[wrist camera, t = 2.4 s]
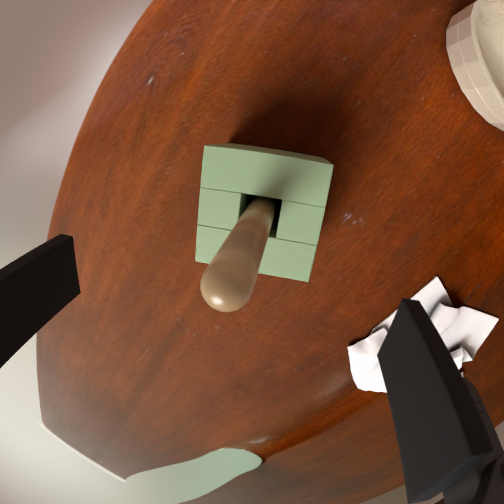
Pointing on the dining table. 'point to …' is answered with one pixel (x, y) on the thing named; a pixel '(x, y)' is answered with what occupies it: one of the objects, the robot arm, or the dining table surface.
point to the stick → (239, 258)
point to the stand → (268, 185)
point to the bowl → (479, 56)
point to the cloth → (446, 322)
